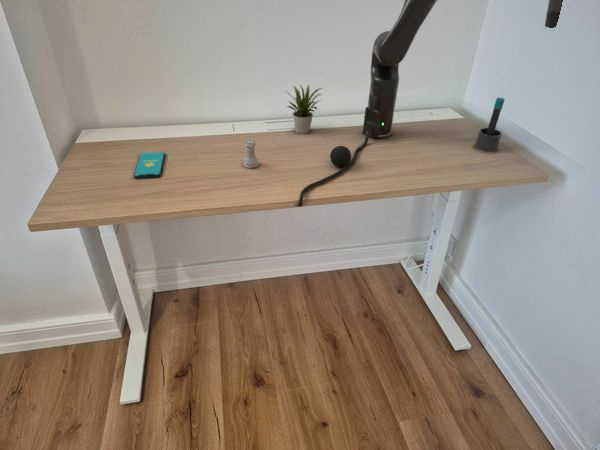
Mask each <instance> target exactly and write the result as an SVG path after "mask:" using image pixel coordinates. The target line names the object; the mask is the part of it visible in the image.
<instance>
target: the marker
mask: <svg viewBox="0 0 600 450" xmlns="http://www.w3.org/2000/svg"><path fill="white" fill-rule="evenodd" d="M504 103H505V98H503V97H496V99H495V102H494V106H493V109H492V110H493V111H492V113H491V116H490V120H489V123H488V127H487V128H488V130H487V133H486V135H490V136H493V134H494V131H495V129H496V128H497V125H498V121H499V118H500V115H501V112H502V109H503V107H504Z"/></svg>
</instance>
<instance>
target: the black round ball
mask: <svg viewBox="0 0 600 450" xmlns="http://www.w3.org/2000/svg"><path fill="white" fill-rule="evenodd" d="M329 159H330V162H331V163H332V164H333V166H335V167H338V168H344V167H346V166H347V165H348V164H349V163H350V162H351V160H352V153H351V150H350V149H349V148H348V147H347V146H345V145H337V146H335V147H333V148H332V150H331V151H330V153H329Z"/></svg>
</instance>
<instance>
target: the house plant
mask: <svg viewBox="0 0 600 450" xmlns="http://www.w3.org/2000/svg"><path fill="white" fill-rule="evenodd" d="M299 87H300V88H301V91H300V90H298V88H297V87H296V86H294V85H293V89H294V92H295V95H296V97H294V96H292V95H291V94H290V93H289V92H288V91H285V90H283V92H284V93H286V94H287V95H288V96H290V97H291V98H292V99H293V101H294V102H295V103H293V102H291V101H290V100H287V102H288V103H289V104H290V105H287V106H286V108H290V109H292V110H294V112H292V117H293V126H294V132H295V133H297V134H302V135H303V134H304V135H305V134H308V133H310V130H311V126H312V121H313V116H314V113H315V111H317V109H318V107H317V106H315V105H317V104H318V102H321V101H322V100H316V101H315V99H316V98H318V96H321V93H318V94H316V93H317V92H318V91H320V90H322V89H323V87H318V88H317V89H315V90H314V91H313V92H311V91H310V84H308V85H307V87H306V90H304V88H303V86H302V84H299ZM310 93H311V94H310ZM301 94H302V96H301ZM315 94H316V95H315Z"/></svg>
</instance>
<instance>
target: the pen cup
mask: <svg viewBox="0 0 600 450" xmlns="http://www.w3.org/2000/svg"><path fill="white" fill-rule="evenodd" d="M487 130H488V127H482V128H480V129H478V133H477V137H476V140H475V143H474V147H475V148H476V149H477V150H479V151H482V152H486V153H493V152H496V151H497V150H498V148H499V144H500V141H501V139H502V136H503V133H502V132H501V131H500V130H498V129H496V128H495V131H494V134H493V136H490V135H486V133H487Z"/></svg>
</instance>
